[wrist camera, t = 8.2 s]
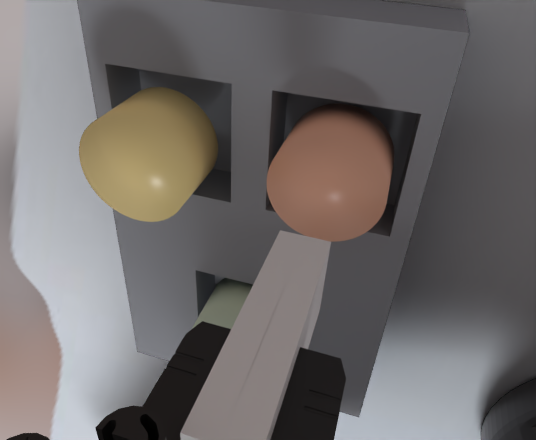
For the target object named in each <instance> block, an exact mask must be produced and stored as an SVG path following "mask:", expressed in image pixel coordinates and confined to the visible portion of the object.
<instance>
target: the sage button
mask: <svg viewBox="0 0 536 440" xmlns="http://www.w3.org/2000/svg"><path fill="white" fill-rule="evenodd" d="M252 286H253V284H249V283H245V282H241V281H237V280H233V279H229V278H224V279H222V280H221V281H220V282H219V283H218V284H217V285H216V287H215V289H214V290H213V292H212V294H211V296H210V297H209V299H208V301H207V303H206V304H205V306H204V308H203V310H202V311H201V313H200V315H199V317H198V318H197V320H196V322H195V324H194V326H193V328H194V327H195V326H197V325H198V324H199V323H200V322H202V321H204V322H207V323H211V324H214V325H218V326H222V327H225V328H229V329H232V327H233V325H234V323H235V321H236V319H237V317H238V315H239V313H240V311H241V309H242V307H243V305H244V303H245V300H246V298H247V296H248V294H249V292H250V290H251V288H252ZM193 328H192V329H193Z"/></svg>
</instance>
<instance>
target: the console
mask: <svg viewBox="0 0 536 440" xmlns="http://www.w3.org/2000/svg"><path fill="white" fill-rule="evenodd" d="M77 3H78V9H79V14H80V20H81V26H82V32H83V38H84V43H85V49H86V55H87V61H88V67H89V73H90V78H91V84H92V90H93V96H94V102H95V108H96V113H97V119H98V118H100V117H101V116H103V115H104V114H106V113H107V112H109V111H110V110H112V109H113V108H115V107H116V106H118V105H119V104H121V103H122V102H124V101H125V100H127V99H128V98H130V97H131V96H133V95H134V94H136V93H137V92H139V91H141V90H143V89H146V88H151V87H164V88H169V89H173V90H175V91H178V92H180V93H182V94H184V95H186V96H187V97H189V98H190V99H192V100H193V101H194V102H195V103H196V104H197V105H198V106H199V107H200V108H201V109H202V110H203V111H204V112H205V114H206V115H207V116H208V118H209V120H210V121H211V123H212V125H213V127H214V130H215V133H216V136H217V141H218V155H217V160H216V163H215V165H214V167H213V169H212V170H211V172H210V173H209V174H208V175H207V177H206V178H205V179H204V180H203V181H202V183H201V184H200V185H199V186H198V188H197V189H196V190H195V191H194V192H193V194H192V195H191V196H190V197H189V199H188V200H187V201H186V202H185V203H184V205H183V206H182V207H181V208H180V210H179V211H178V212H177V213H176V214H175V215H173V216H172V217H170V218H168V219H165V220H162V221H158V222H145V221H139V220H135V219H132V218H130V217H127V216H125V215H123V214H121V213H119V212H118V211H116V210H114V209H113V212H114V218H115V224H116V230H117V236H118V242H119V247H120V253H121V259H122V265H123V271H124V277H125V282H126V288H127V294H128V300H129V306H130V312H131V317H132V323H133V329H134V335H135V341H136V347H137V352H140V353H144V354H147V355H150V356H154V357H157V358H161V359H164V360H167V361H170V360H171V358H172V356H173V355H174V354H175V351H176V349H177V348H178V346H179V344H180V343H181V341H182V339H183V338H184V336H185V334H186V333H188V332H189V331H190V330H191V329H192V328H193V326H194V324H195V322H196V320H197V318H198V317H199V315H200V313H201V311H202V310H203V308H204V306H205V304H206V303H207V301H208V299H209V297H210V296H211V294H212V292H213V290H214V289H215V287H216V285H217V284H218V283H219V282H220V281H221V280H222V279H224V278H229V279H233V280H237V281H241V282H245V283H249V284H254V282H255V280H256V278H257V276H258V274H259V272H260V270H261V268H262V266H263V264H264V262H265V260H266V258H267V256H268V254H269V252H270V250H271V248H272V246H273V244H274V242H275V240H276V238H277V236H278V234H279V232H280V230H281V231H286V232H290V233H295V234H299V235H303V234H301V233H299V232H297V231H295V230H294V229H292V228H291V227H290V226H288V225H287V224H286V223H285V222H284V221H283V220H282V219H281V218H280V217H279V215H278V214H277V213H276V211H275V210H274V208H273V206H272V204H271V202H270V200H269V196H268V192H267V173H268V170H269V167H270V165H271V163H272V161H273V159H274V157H275V156H276V154H277V153H278V151H279V149H280V148H281V146H282V145H283V143H284V141H285V140H286V138H287V137H288V135H289V133H290V132H291V130H292V129H293V127H294V126H295V124H296V123H297V121H298V120H299V119H300V118H301V117H302V116H303V115H305V114H306V113H307V112H309V111H311V110H312V109H314V108H317V107H319V106H323V105H327V104H337V103H341V104H349V105H353V106H356V107H359V108H362V109H364V110H366V111H368V112H369V113H371V114H372V115H374V116H375V117H376V118H377V119H378V120H379V121H380V122H381V123H382V124H383V125H384V126H385V128H386V129H387V131H388V132H389V134H390V137H391V139H392V142H393V146H394V164H393V170H392V176H391V181H390V187H389V192H388V198H387V204H386V207H385V210H384V212H383V214H382V216H381V218H380V219H379V221H378V222H377V223H376V224H375V225H374V226H373V227H372V228H371V229H370V230H369V231H367V232H366V233H364V234H362V235H361V236H358V237H356V238H353V239H350V240H345V241H335V242H331V241H330V242H331V245H330V251H329V257H328V263H327V269H326V275H325V281H324V287H323V293H322V299H321V306H320V311H319V314H318V318H317V321H316V324H315V328H314V331H313V334H312V338H311V341H310V344H309V347H308V349H309V350H312V351H316V352H320V353H323V354H327V355H330V356H334V357H338V358H341V360H342V364H343V368H344V372H345V376H346V382H345V387H344V392H343V397H342V401H341V406H340V411H339V412H343V413H346V414H349V415H353V416H356V417H359V415H360V412H361V408H362V405H363V401H364V398H365V394H366V391H367V387H368V384H369V380H370V377H371V373H372V370H373V366H374V363H375V360H376V356H377V353H378V349H379V346H380V342H381V339H382V335H383V332H384V328H385V325H386V321H387V318H388V314H389V311H390V308H391V304H392V301H393V297H394V294H395V290H396V287H397V283H398V280H399V276H400V273H401V269H402V266H403V262H404V259H405V256H406V252H407V249H408V245H409V242H410V238H411V235H412V231H413V228H414V224H415V221H416V217H417V214H418V210H419V207H420V204H421V200H422V197H423V193H424V190H425V186H426V183H427V179H428V176H429V172H430V169H431V165H432V162H433V158H434V155H435V152H436V148H437V145H438V141H439V138H440V134H441V131H442V127H443V124H444V120H445V117H446V113H447V110H448V106H449V103H450V100H451V96H452V93H453V89H454V86H455V82H456V79H457V75H458V72H459V68H460V65H461V61H462V58H463V54H464V51H465V47H466V44H467V41H468V37H469V34H470V32H469V27H468V21H467V16H466V10H460V9H451V8H443V7H434V6H425V5H416V4H407V3H398V2H390V1H381V0H77ZM303 236H305V235H303Z"/></svg>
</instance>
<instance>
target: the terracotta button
mask: <svg viewBox="0 0 536 440" xmlns="http://www.w3.org/2000/svg"><path fill="white" fill-rule="evenodd" d="M393 164H394V146H393V142H392V139H391V137H390V134H389V132H388V131H387V129H386V128H385V126H384V125H383V124H382V123H381V122H380V121H379V120H378V119H377V118H376V117H375V116H374V115H372V114H371V113H369V112H368V111H366V110H364V109H362V108H359V107H356V106H353V105H349V104H341V103H337V104H327V105H323V106H319V107H317V108H314V109H312V110H311V111H309V112H307V113H306V114H305V115H303V116H302V117H301V118H300V119H299V120H298V121H297V123H296V124H295V126H294V127H293V129H292V130H291V132H290V133H289V135H288V137H287V138H286V140H285V141H284V143H283V145H282V146H281V148H280V149H279V151H278V153H277V154H276V156H275V157H274V159H273V161H272V163H271V165H270V167H269V170H268V173H267V192H268V196H269V200H270V202H271V204H272V206H273V208H274V210H275V211H276V213H277V214H278V215H279V217H280V218H281V219H282V220H283V221H284V222H285V223H286V224H287V225H288V226H290V227H291V228H292V229H294V230H295V231H297V232H299V233H301V234H303V235H305V236H308V237H312V238H317V239H321V240H326V241H331V242H335V241H345V240H350V239H353V238H356V237H358V236H361V235H362V234H364V233H366V232H367V231H369V230H370V229H371V228H372V227H373V226H374V225H375V224H376V223H377V222H378V221H379V219H380V218H381V216H382V214H383V212H384V210H385V207H386V204H387V198H388V192H389V187H390V181H391V176H392V170H393Z"/></svg>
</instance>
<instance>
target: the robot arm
mask: <svg viewBox="0 0 536 440" xmlns="http://www.w3.org/2000/svg"><path fill="white" fill-rule="evenodd" d="M330 245H331V242H330V241H326V240H321V239H317V238H312V237H308V236H303V235H299V234H295V233H290V232H286V231H281V230H280V232H279V234H278V236H277V238H276V240H275V242H274V244H273V246H272V248H271V250H270V252H269V254H268V256H267V258H266V260H265V262H264V264H263V266H262V268H261V270H260V272H259V274H258V276H257V278H256V280H255V282H254V284H253V286H252V288H251V290H250V292H249V294H248V296H247V298H246V300H245V303H244V305H243V307H242V309H241V311H240V313H239V315H238V317H237V319H236V321H235V323H234V325H233V327H232V329H229V328H225V327H222V326H218V325H214V324H211V323H207V322H204V321H202V322H200V323H199V324H198V325H197V326H195V327H194V328H193V329H191V330H190V331H189V332H188V333H186V334H185V336H184V338H183V339H182V341H181V343H180V344H179V346H178V348H177V349H176V351H175V354H174V355H173V356H172V358H171V360H170V361H169V363H168V365H167V368H166V369H165V370H164V371H163V373H162V375H161V376H160V378H159V380H158V381H157V383H156V385H155V387H154V388H153V390H152V392H151V393H150V395H149V397H148V398H147V400H146V402H145V403H144V405H143V407H139V406H130V407H125V408H121V409H118V410H116V411H114V412H113V413H111V414H109V415H108V416H106V417H105V418H104V419H103V420H102V421H101V422H100V423H99V425H98V426H97V427H96V431H97V435H98V439H99V440H334V436H335V431H336V426H337V421H338V416H339V411H340V406H341V401H342V397H343V392H344V387H345V382H346V376H345V372H344V368H343V364H342V360H341V358H338V357H334V356H330V355H327V354H323V353H320V352H316V351H312V350H309V349H308V347H309V344H310V341H311V338H312V334H313V331H314V328H315V324H316V321H317V318H318V314H319V311H320V306H321V299H322V293H323V287H324V281H325V275H326V269H327V263H328V257H329V251H330ZM7 440H49V438H47V437H45V436H43V435H40V434H38V433H23V434H20V435H17V436H14V437H11V438H9V439H7ZM481 440H536V379H534V380H531V381H529V382H527V383H525V384H523V385H521V386H519V387H517V388H515V389H514V390H512V391H510V392H509V393H508V394H506V395H505V396H504V397H502V398H501V399H500V400H499V401H498V402H497V403H496V404H495V405H494V406H493V407H492V408H491V410H490V411H489V413H488V414H487V416H486V418H485V420H484V423H483V426H482V431H481Z"/></svg>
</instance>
